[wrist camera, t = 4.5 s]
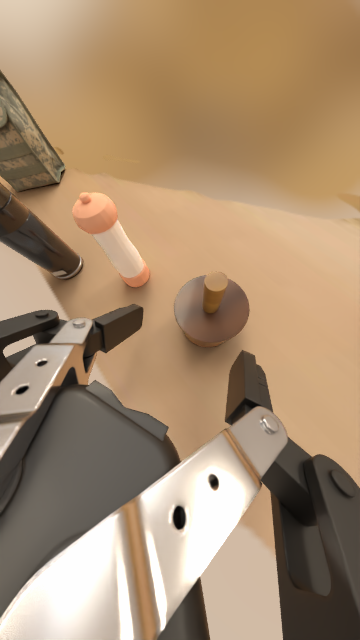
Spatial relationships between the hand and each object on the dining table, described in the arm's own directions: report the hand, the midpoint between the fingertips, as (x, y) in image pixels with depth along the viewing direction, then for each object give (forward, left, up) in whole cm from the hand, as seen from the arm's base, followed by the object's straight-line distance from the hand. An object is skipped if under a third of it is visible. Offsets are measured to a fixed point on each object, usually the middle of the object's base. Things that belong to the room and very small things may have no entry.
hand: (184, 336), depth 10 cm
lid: (-5, +6, -11) cm, 14 cm away
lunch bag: (-101, -24, -20) cm, 105 cm away
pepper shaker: (-26, -4, -20) cm, 33 cm away
